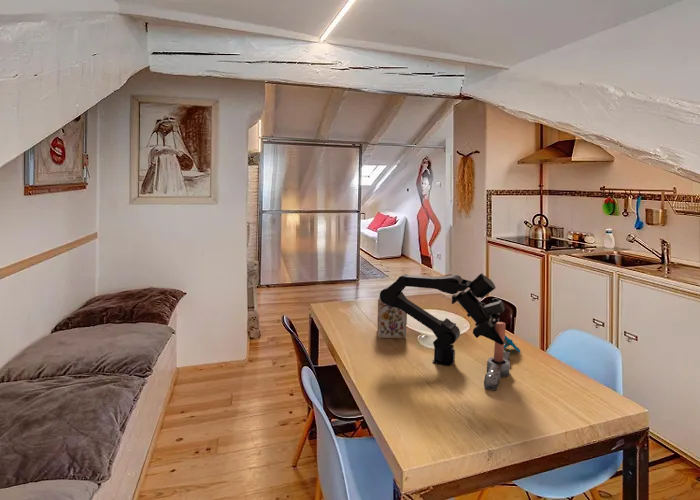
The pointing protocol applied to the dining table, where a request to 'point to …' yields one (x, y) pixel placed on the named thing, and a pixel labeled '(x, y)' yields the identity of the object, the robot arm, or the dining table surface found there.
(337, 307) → the dining table surface
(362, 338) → the dining table surface
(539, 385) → the dining table surface
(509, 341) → the gear
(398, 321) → the decorative jar
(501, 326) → the pin
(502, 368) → the grey jointed bar
